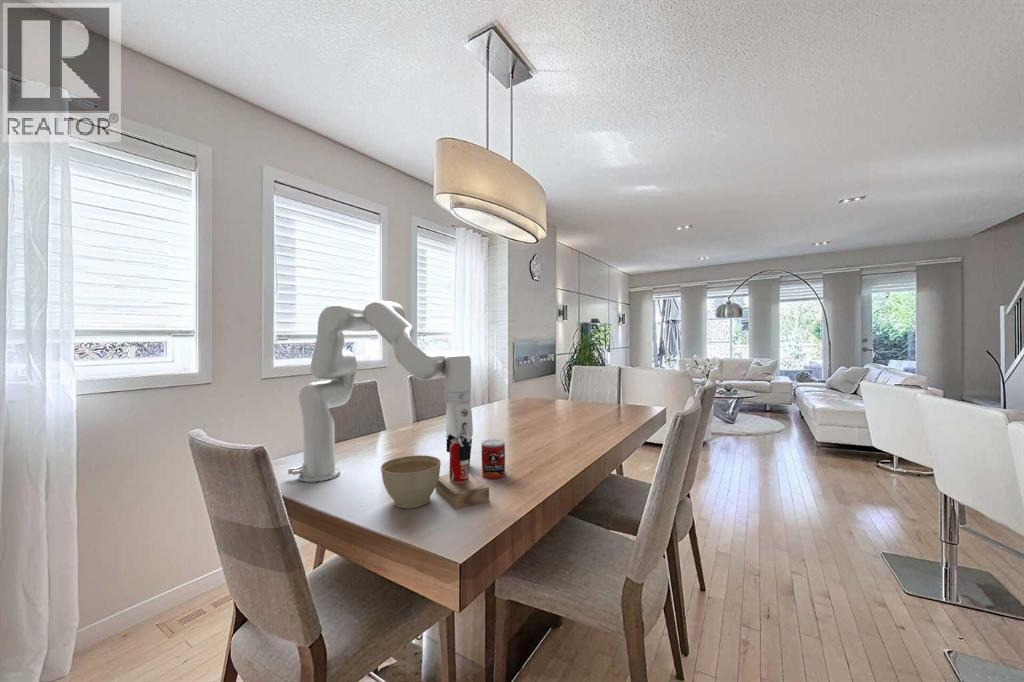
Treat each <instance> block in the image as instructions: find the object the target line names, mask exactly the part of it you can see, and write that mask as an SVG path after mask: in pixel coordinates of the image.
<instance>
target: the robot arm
mask: <svg viewBox="0 0 1024 682" xmlns="http://www.w3.org/2000/svg"><path fill="white" fill-rule="evenodd" d="M343 331H345V332H347V331H348V332H349V331H350V332H372V331H375V332H376V333H378V334H379V336H380V337H382V338H383V339H384V340H385V341H386V342H387V343H388V344H390V346H392V350H393V354H394V356H395V359H396V360H397V362H398V363H399V365H400V366H401V367H403V368H404V370H406V371H407V372H408V373H409V374H410V375H411V376H413V377H414V378H416V379H417V380H420V381H429V380H436V379H437V380H438V379H443V378H444V402H445V404H446V409H445V432H446V434H445V435H446V436H445V438H446V452H447V453H449V452H450V443H451V439H454V438H455V437H456V438H458V439H459V443H460V446H459V460H460V461H464V460H469V459H470V460H471V455H470V446H471V447H472V445H471V437H472V438H473V433H474V431H473V429H474V428H473V426H474V425H473V411H472V405H471V402H472V358H471V356H470V355H468V354H462V353H461V354H459V353H458V354H457V353H456V354H448V353H443V352H437V353H436V352H435V353H434V352H433V353H425V352H424V351H422V350H421V349H420V348H419V347H418V346H417V345H416V344H415V343H414V342H413V340H412V338H413V336H414V335H415V329H414V327H413V325H412V324H411V323H410V322H408V321H407V320H406V311H405V309H404V308H403V306H402V305H401V304H399V303H397V302H394V301H386V300H372V301H370V302H368V303H367V304H366V305H365V306H364V305H356V304H346V303H337V304H336V303H335V304H331V305H329V306H326V307H325V308H323V310H322V311H321V312H320V314H319V316H318V321H317V335H316V340H315V344H314V349H313V353H312V358H311V362H310V372H311V375H312V377H314V378H315V379H318V380H320V381H314V382H310V383H308V384H305V385H304V386H303V387H302V388H301V389H300V391H299V394H298V402H299V405H300V406H299V407H300V410H301V417H302V436H303V439H302V442H303V447H302V448H303V449H302V451H303V462H302V464H301V465H299V466H296V467H288V468H287V474H288V475H292V476H294V475H298V480H299V481H300V480H301V482H303V481H305V483H316V481H319V482H323V481H324V480H325V481H327V480H328V479H329V480H332V479H334V477H335V478H337V477H338V476H339V475H340V474H341V469H340V468H338V467H336V454H335V453H336V448H335V445H336V444H335V442H336V441H335V440H336V439H335V421H334V417H333V415H332V413H331V410H330V409H332V408H336V407H337V408H338V407H340V406H344V405H346V403H348V402H349V400H350V398H351V396H352V394H353V393H352V392H353V390H354V389H353V387H354V384H355V379H356V374H357V371H358V360H357V358H356V356H355V354H354V353H353V352H352V351H350V350H347V349H344V345H345V335H344V332H343ZM462 439H464V440H463V441H462ZM336 476H337V477H336ZM325 481H324V482H325Z"/></svg>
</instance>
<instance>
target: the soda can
mask: <svg viewBox="0 0 1024 682" xmlns="http://www.w3.org/2000/svg"><path fill="white" fill-rule="evenodd" d="M463 440H464V439H462V441H463ZM459 446H460V443H459V439H458V438H454V439H451V443H450V453H449V474H450V480H451V481H452V482H454V483H463V482H466V481H467V480H468V479H469V474H470V472H469V471H470V466H469V460H464V461H460V460H459Z"/></svg>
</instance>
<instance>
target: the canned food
mask: <svg viewBox="0 0 1024 682" xmlns="http://www.w3.org/2000/svg"><path fill="white" fill-rule="evenodd" d="M505 443H506V442H505V441H504V440H502V439H497V438H496V439H495V438H494V439H486V440H483V441H482V442H481V474H482V477H484V478H485V479H487V478H488V479H489V480H497V479H496V478H498V479H500V478H503V477H504V476H505V475H506V450H505V449H506V446H505V445H506V444H505Z"/></svg>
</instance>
